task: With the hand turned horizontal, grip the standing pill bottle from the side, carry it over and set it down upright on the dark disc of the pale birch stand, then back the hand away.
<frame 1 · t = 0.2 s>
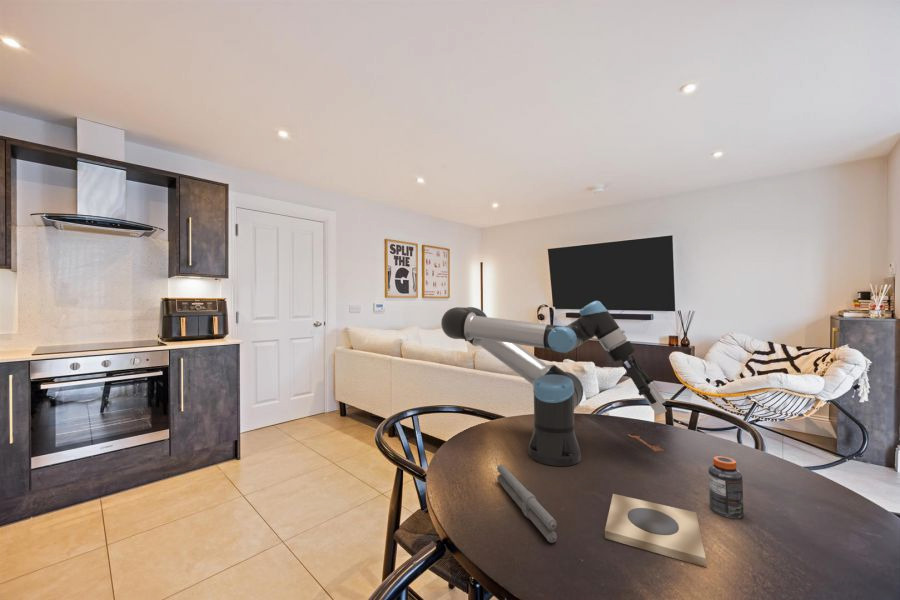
hand: (661, 408, 106), 15 cm above the table, tool tilted 35°, fingers open, 13 cm apart
stand: (652, 528, 73), on the table
pill bottle: (726, 512, 79), on the table
key: (646, 444, 120), on the table
metal rod assembly: (523, 510, 80), on the table
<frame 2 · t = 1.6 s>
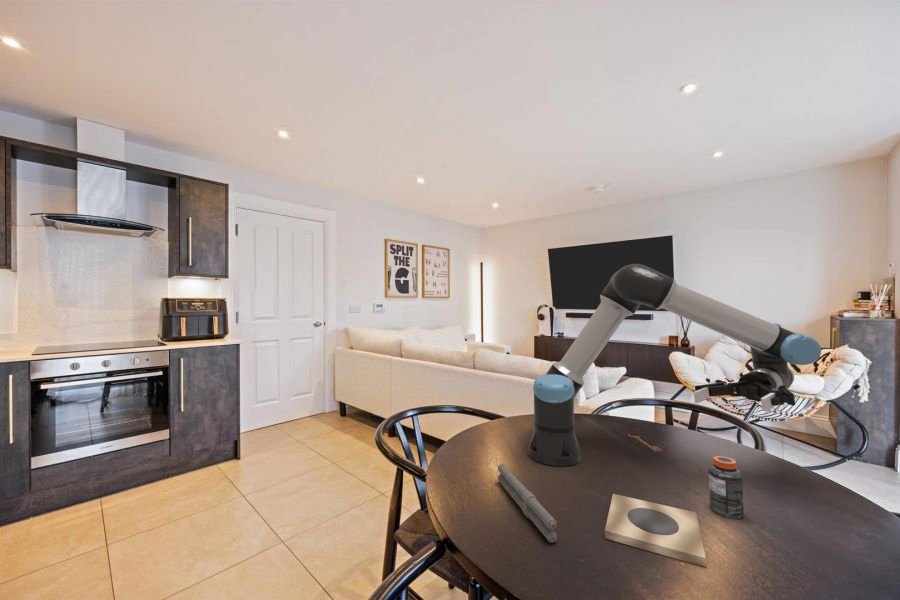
hand: (727, 401, 86), 22 cm above the table, tool horizontal, fingers open, 13 cm apart
nothing on the table moved.
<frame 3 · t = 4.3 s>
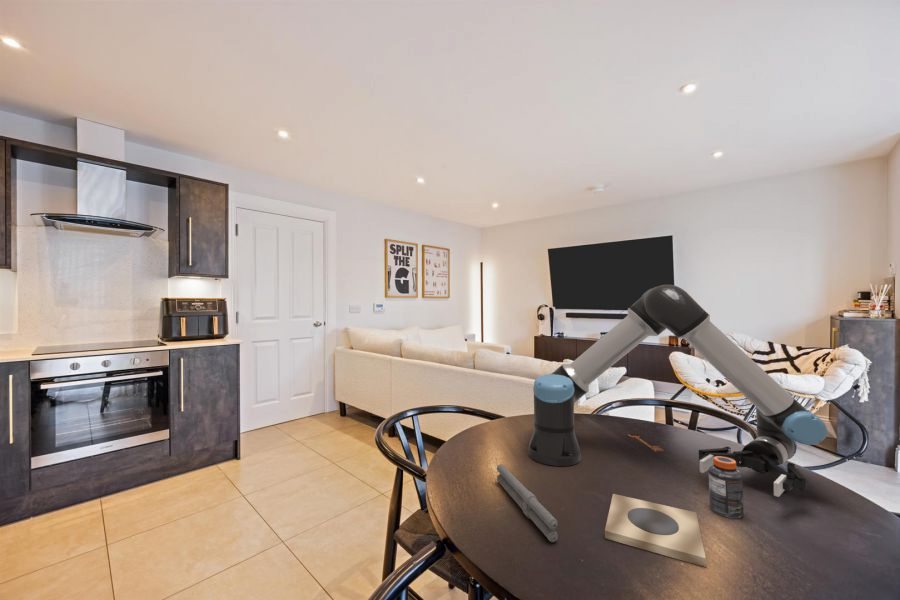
hand: (736, 477, 81), 6 cm above the table, tool horizontal, fingers open, 13 cm apart
nothing on the table moved.
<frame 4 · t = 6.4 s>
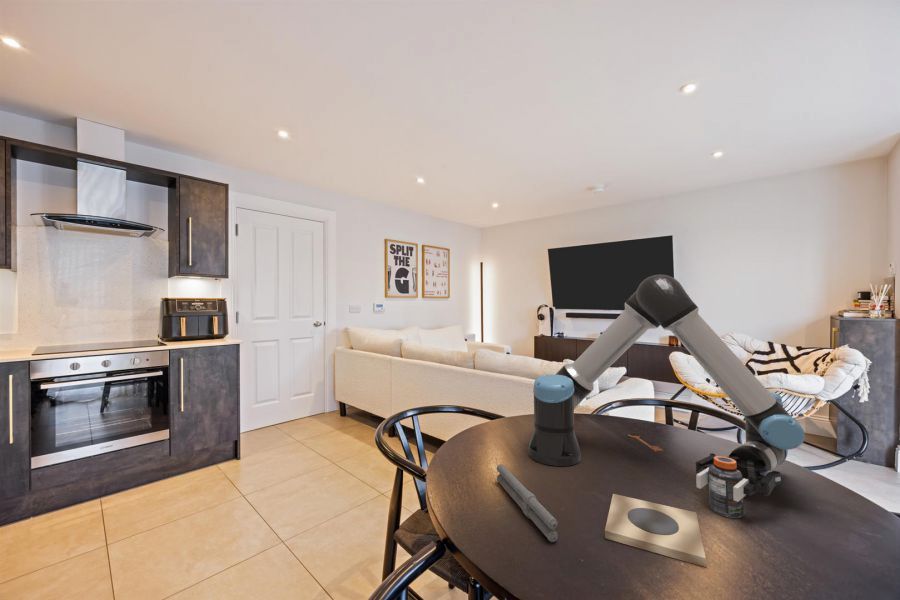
hand: (716, 487, 76), 7 cm above the table, tool horizontal, fingers closed on pill bottle, 6 cm apart
pill bottle: (726, 512, 79), on the table, touching gripper
everything else where it was.
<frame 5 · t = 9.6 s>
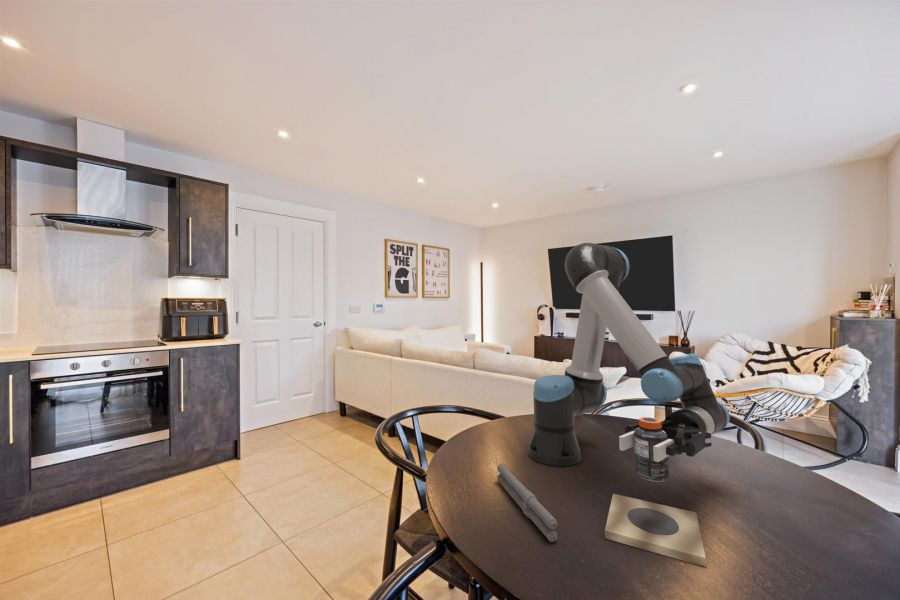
hand: (637, 448, 70), 17 cm above the table, tool horizontal, fingers closed on pill bottle, 6 cm apart
pill bottle: (651, 476, 73), point 10 cm above the table, touching gripper
everything else where it was.
when the fingers open (10 cm above the table, at t = 11.1 s): pill bottle drops 1 cm, resting on stand.
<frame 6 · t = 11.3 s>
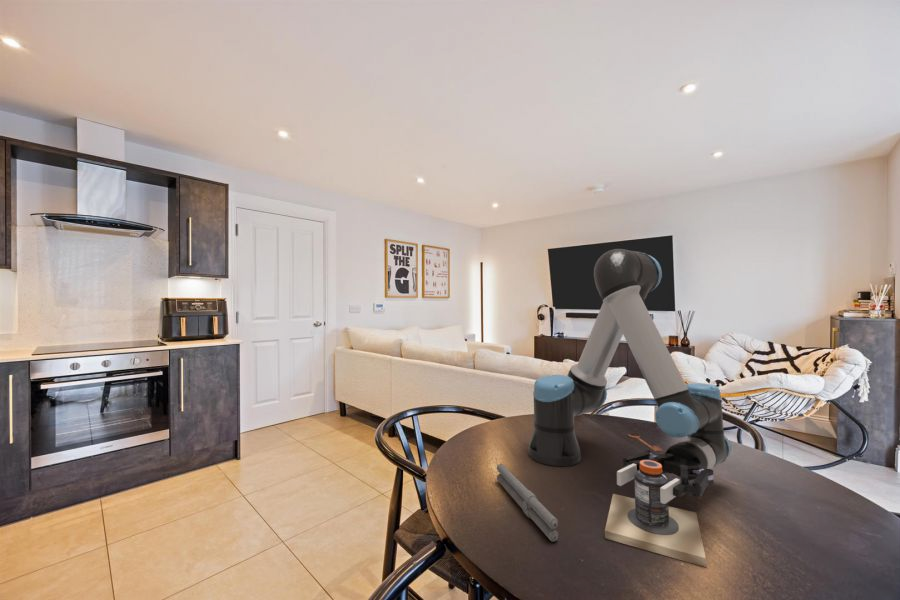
hand: (639, 486, 70), 10 cm above the table, tool horizontal, fingers open, 8 cm apart
pill bottle: (651, 520, 73), point 2 cm above the table, touching stand
everything else where it was.
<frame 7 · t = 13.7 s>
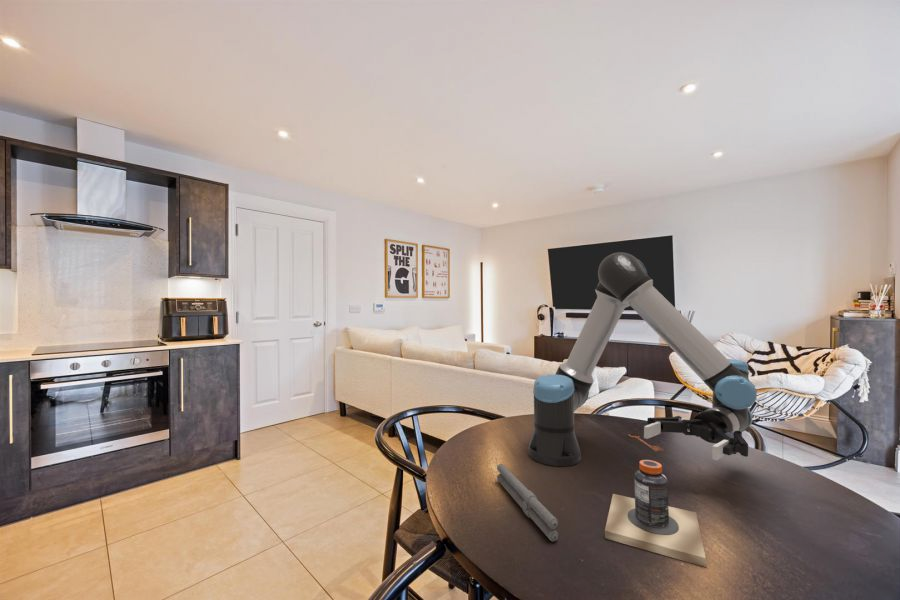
hand: (677, 442, 78), 15 cm above the table, tool horizontal, fingers open, 13 cm apart
nothing on the table moved.
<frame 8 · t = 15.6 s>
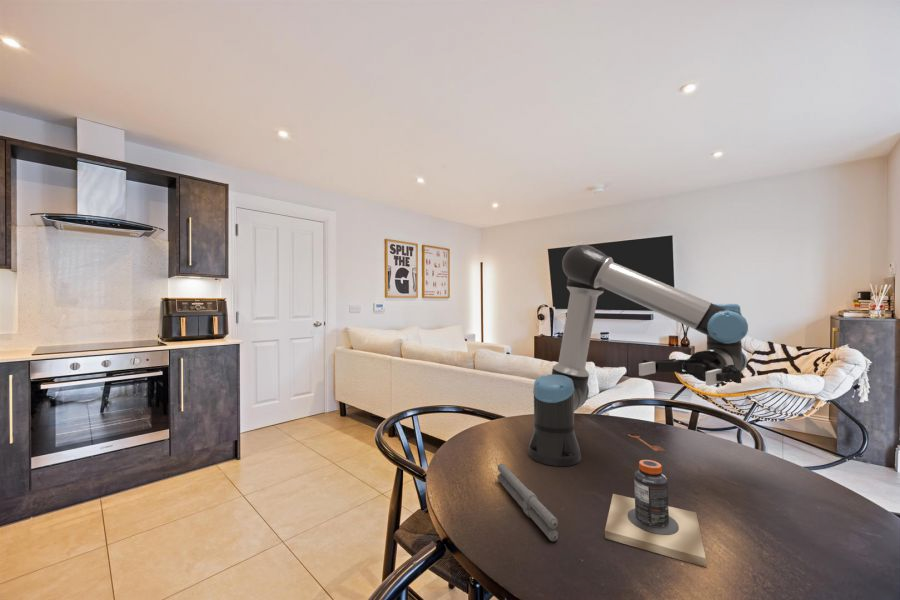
hand: (671, 374, 79), 30 cm above the table, tool horizontal, fingers open, 13 cm apart
nothing on the table moved.
at the end: pill bottle inside the target area on the stand (0.1 cm from its centre), point 1.5 cm above the stand's base; pill bottle tilted 0°; the gripper is holding nothing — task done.
